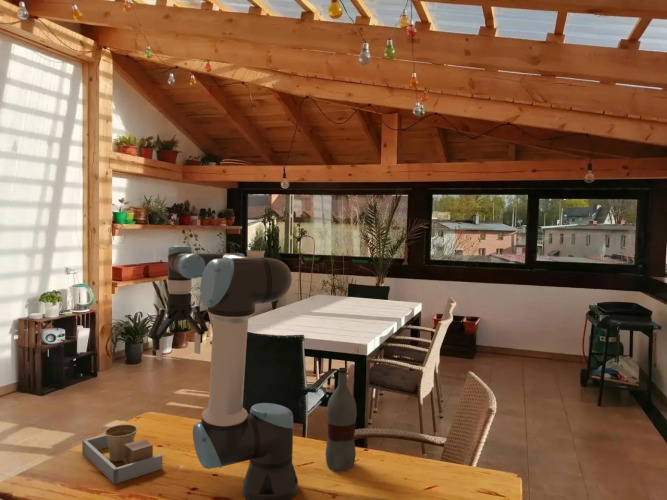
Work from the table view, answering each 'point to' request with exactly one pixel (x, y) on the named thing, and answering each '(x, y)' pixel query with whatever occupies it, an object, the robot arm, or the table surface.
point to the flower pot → (119, 440)
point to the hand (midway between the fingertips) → (178, 356)
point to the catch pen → (108, 469)
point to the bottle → (341, 426)
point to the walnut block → (137, 451)
